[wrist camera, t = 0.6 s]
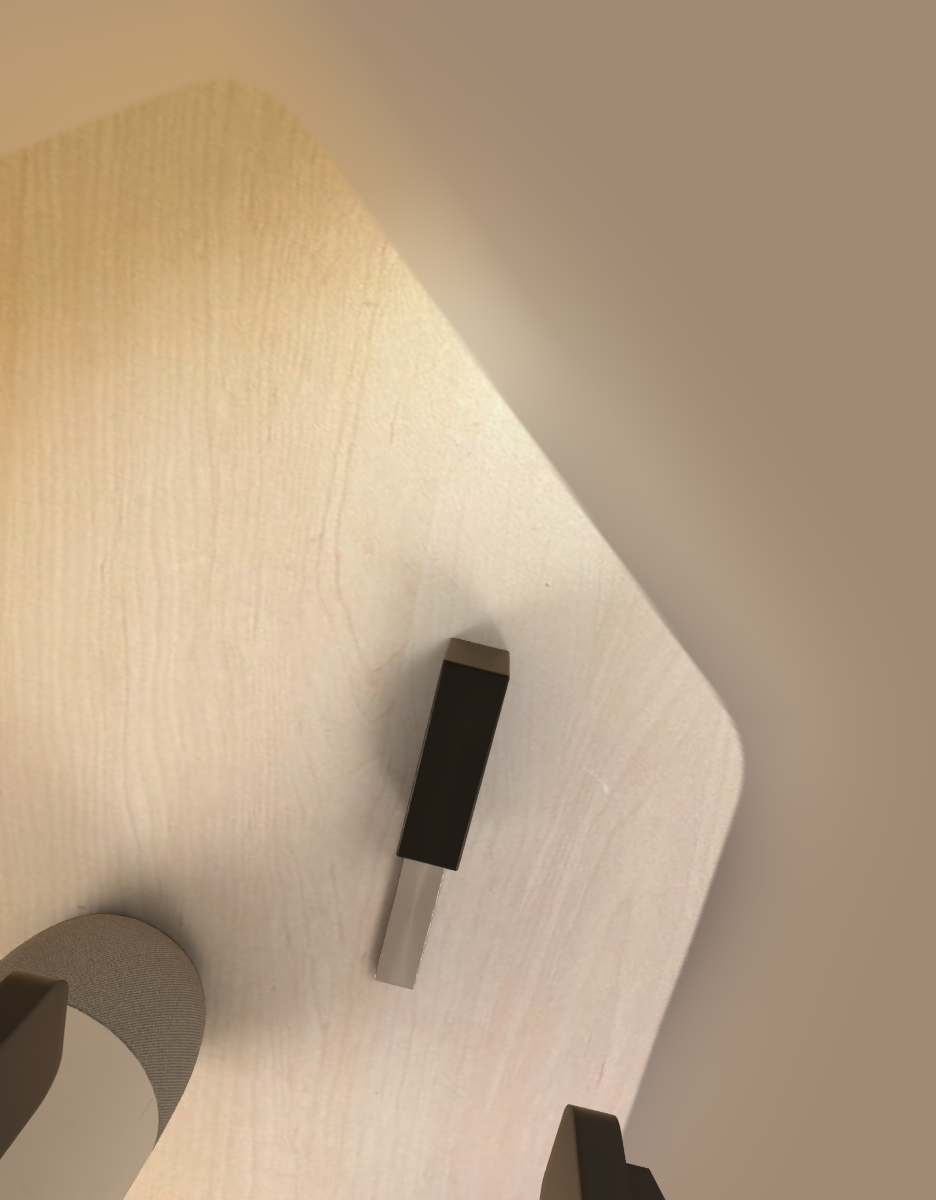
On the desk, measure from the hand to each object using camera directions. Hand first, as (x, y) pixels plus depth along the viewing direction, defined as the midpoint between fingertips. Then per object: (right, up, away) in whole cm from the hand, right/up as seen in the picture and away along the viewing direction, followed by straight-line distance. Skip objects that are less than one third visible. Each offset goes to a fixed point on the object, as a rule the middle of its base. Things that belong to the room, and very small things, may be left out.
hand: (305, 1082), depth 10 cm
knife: (+1, -1, +17) cm, 17 cm away
